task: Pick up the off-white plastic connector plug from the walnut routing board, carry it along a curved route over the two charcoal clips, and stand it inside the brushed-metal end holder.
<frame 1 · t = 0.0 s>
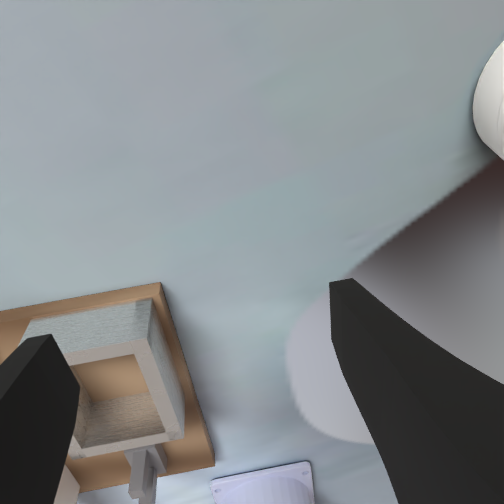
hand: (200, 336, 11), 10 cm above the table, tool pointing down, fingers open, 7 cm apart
clip a: (147, 448, 28), resting on routing board
end holder: (115, 360, 23), resting on routing board
routing board: (82, 402, 26), on the table
connector: (46, 473, 28), point 1 cm above the table, touching routing board
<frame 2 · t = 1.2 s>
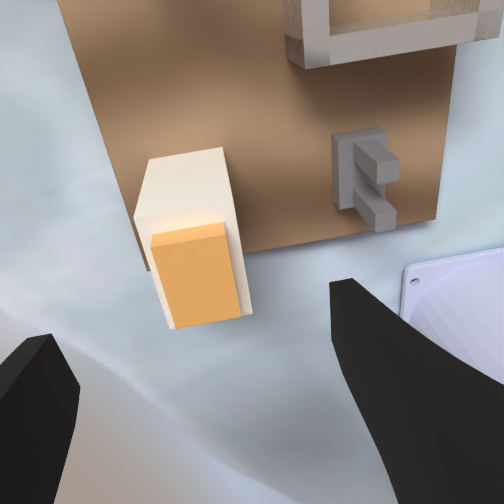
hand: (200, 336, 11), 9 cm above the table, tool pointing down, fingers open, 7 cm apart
clip a: (354, 164, 18), resting on routing board
routing board: (271, 60, 16), on the table
connector: (197, 203, 18), point 1 cm above the table, touching routing board
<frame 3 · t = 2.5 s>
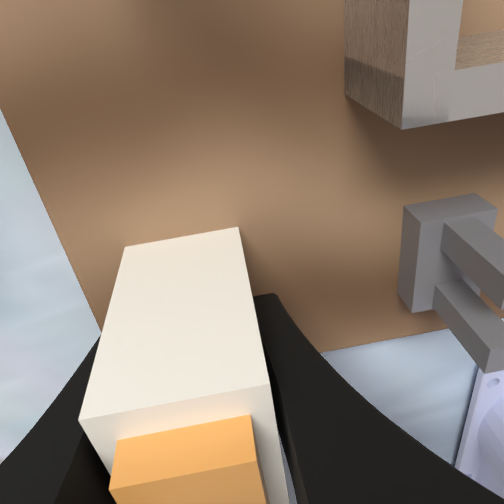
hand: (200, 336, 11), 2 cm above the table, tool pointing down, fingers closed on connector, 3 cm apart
clip a: (433, 245, 12), resting on routing board
routing board: (316, 94, 10), on the table
connector: (199, 302, 12), point 1 cm above the table, touching gripper, routing board
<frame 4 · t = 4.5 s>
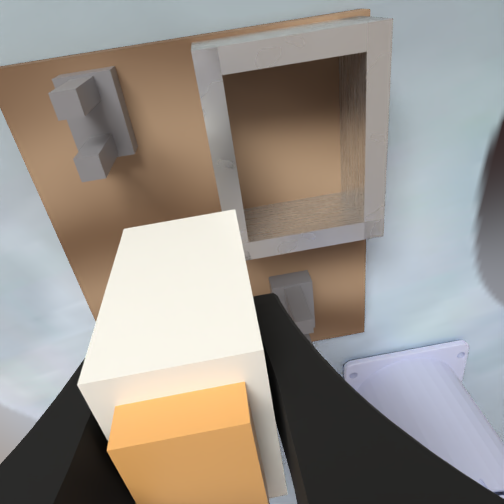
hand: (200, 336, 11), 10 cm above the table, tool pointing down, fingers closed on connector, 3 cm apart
clip a: (290, 296, 21), resting on routing board
end holder: (285, 134, 17), resting on routing board
routing board: (217, 222, 20), on the table
clip b: (100, 112, 16), resting on routing board
connector: (197, 285, 12), point 8 cm above the table, touching gripper
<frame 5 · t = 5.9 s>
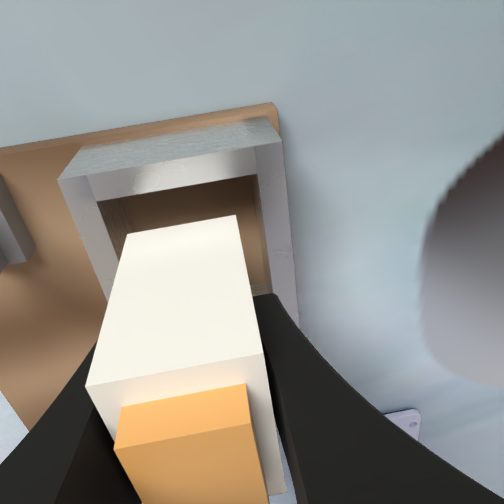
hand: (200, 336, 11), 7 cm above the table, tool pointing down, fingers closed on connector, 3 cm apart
end holder: (197, 230, 16), resting on routing board
routing board: (139, 309, 19), on the table
connector: (198, 288, 12), point 5 cm above the table, touching gripper
when the fingers open (5 cm above the table, at t = 6.6 s): connector drops 2 cm, resting on routing board.
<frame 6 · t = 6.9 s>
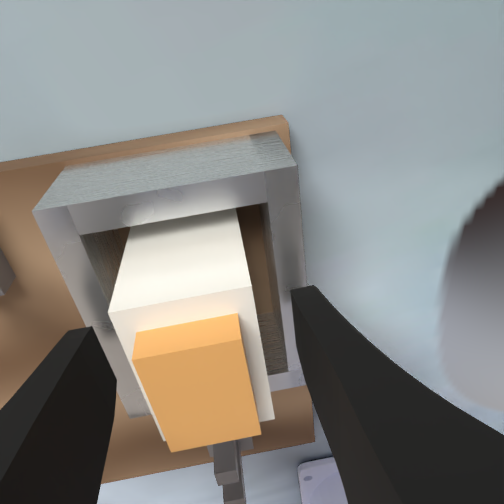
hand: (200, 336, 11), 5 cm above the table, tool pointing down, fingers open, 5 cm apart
clip a: (225, 413, 19), resting on routing board
end holder: (198, 256, 14), resting on routing board
routing board: (133, 339, 17), on the table
connector: (199, 255, 14), point 1 cm above the table, touching routing board
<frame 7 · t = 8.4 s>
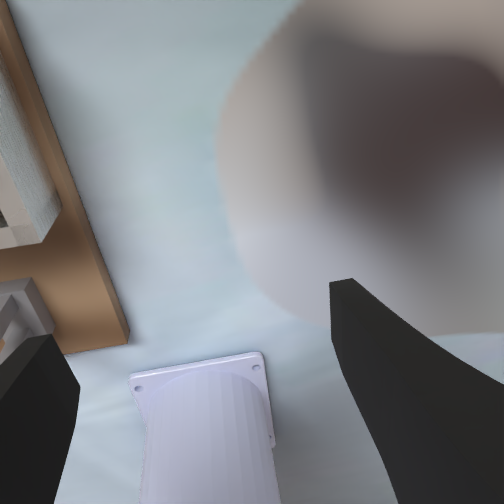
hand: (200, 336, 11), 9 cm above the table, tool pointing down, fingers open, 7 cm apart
clip a: (23, 305, 20), resting on routing board
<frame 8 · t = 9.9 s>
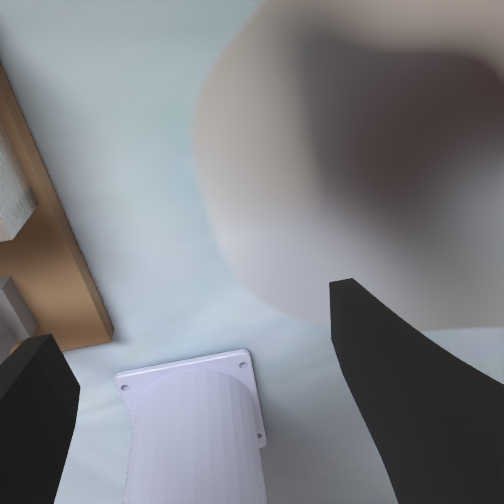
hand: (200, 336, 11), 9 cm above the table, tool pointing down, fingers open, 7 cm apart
clip a: (3, 304, 19), resting on routing board
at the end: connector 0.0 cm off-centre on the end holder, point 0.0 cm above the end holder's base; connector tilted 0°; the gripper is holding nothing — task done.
